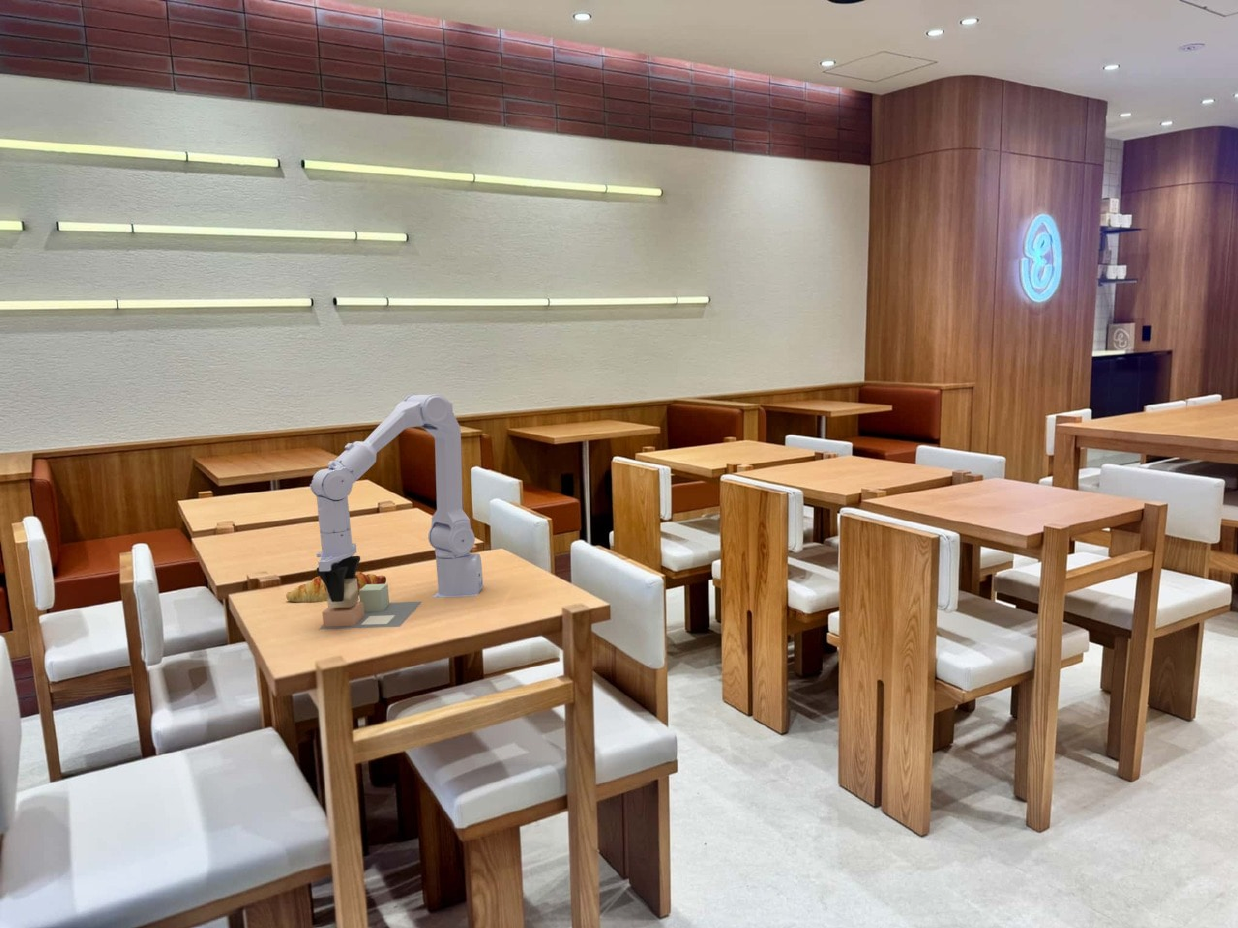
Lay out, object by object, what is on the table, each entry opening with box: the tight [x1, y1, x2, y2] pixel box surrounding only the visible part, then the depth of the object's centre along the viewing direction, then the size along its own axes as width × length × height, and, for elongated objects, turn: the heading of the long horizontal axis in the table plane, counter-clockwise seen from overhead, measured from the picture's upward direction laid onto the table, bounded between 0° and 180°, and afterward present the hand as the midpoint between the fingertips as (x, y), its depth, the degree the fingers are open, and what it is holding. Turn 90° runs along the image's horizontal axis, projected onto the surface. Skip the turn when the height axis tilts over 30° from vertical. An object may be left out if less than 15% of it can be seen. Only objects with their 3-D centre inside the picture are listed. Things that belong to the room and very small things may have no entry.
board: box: [318, 601, 423, 630], centre depth 169 cm, size 16×16×1 cm
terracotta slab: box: [321, 601, 365, 627], centre depth 166 cm, size 6×6×3 cm
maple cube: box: [326, 579, 360, 608], centre depth 165 cm, size 4×4×4 cm
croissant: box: [285, 571, 387, 603], centre depth 185 cm, size 21×10×8 cm, turn 115°
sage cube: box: [358, 583, 390, 612], centre depth 174 cm, size 4×4×4 cm
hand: (342, 597), depth 165 cm, fingers closed on maple cube, 4 cm apart
